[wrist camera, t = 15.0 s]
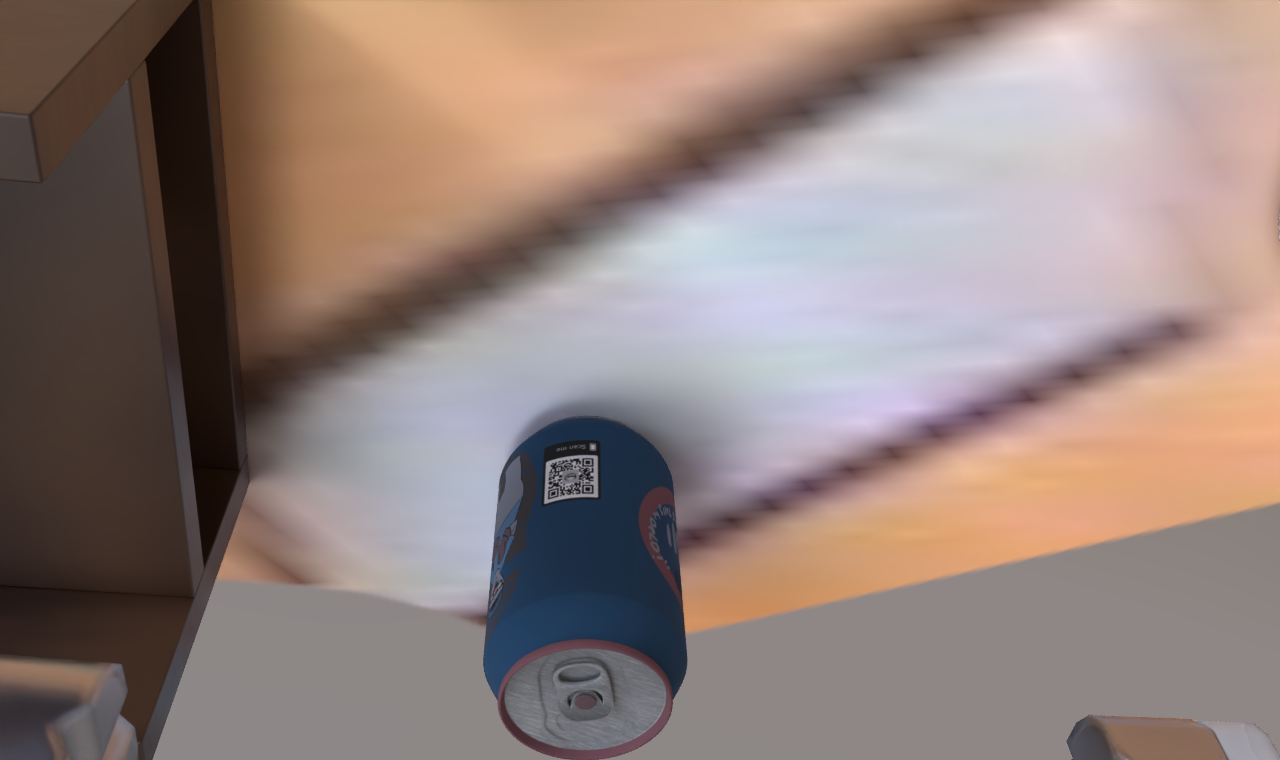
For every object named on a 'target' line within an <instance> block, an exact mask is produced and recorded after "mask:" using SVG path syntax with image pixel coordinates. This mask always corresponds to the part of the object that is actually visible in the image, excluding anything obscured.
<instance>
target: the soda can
mask: <svg viewBox="0 0 1280 760" xmlns="http://www.w3.org/2000/svg"><path fill="white" fill-rule="evenodd" d="M483 666H484V672H485V676H486V679H487V682H488V684H489V686H490V688H491V690H492V692H493V693H494V695H495V697H496V698H497V700H498V709H499V714H500V717H501V719H502V722H503V723H504V725H505V727H506V728H507V729H508V731H509V732H510V733H511V734H512V735H513V736H514V737H515V738H516V739H517V740H519V741H520V742H521V743H523V744H524V745H526V746H528V747H530V748H532V749H534V750H536V751H538V752H541V753H543V754H546V755H550V756H553V757H557V758H563V759H571V760H598V759H605V758H610V757H615V756H619V755H622V754H625V753H628V752H630V751H632V750H635V749H637V748H639V747H641V746H642V745H644V744H646V743H647V742H649V741H650V740H651V739H653V738H654V737H655V736H656V735H657V734H658V733H659V732H660V731H661V730H662V729H663V727H664V726H665V725H666V723H667V721H668V720H669V717H670V715H671V711H672V705H673V699H674V697H675V695H676V693H677V692H678V690H679V688H680V686H681V684H682V682H683V680H684V677H685V674H686V669H687V649H686V637H685V625H684V613H683V600H682V588H681V576H680V564H679V552H678V539H677V527H676V515H675V503H674V491H673V481H672V476H671V473H670V470H669V468H668V465H667V464H666V462H665V460H664V459H663V457H662V455H661V454H660V453H659V452H658V451H657V449H656V448H655V447H654V446H653V445H652V444H651V443H649V442H648V441H647V440H646V439H645V438H643V437H642V436H641V435H639V434H638V433H636V432H635V431H633V430H632V429H630V428H629V427H627V426H625V425H623V424H621V423H619V422H616V421H614V420H610V419H606V418H602V417H594V416H579V417H571V418H566V419H563V420H559V421H556V422H554V423H552V424H550V425H548V426H546V427H544V428H543V429H541V430H539V431H538V432H536V433H535V434H533V435H532V436H531V437H529V438H528V439H527V440H525V441H524V442H523V443H522V444H521V445H520V446H519V447H518V448H517V449H516V450H515V451H514V452H513V453H512V455H511V456H510V458H509V459H508V461H507V462H506V464H505V466H504V468H503V471H502V474H501V477H500V482H499V492H498V503H497V514H496V525H495V536H494V547H493V558H492V569H491V580H490V591H489V602H488V613H487V624H486V636H485V647H484V658H483Z"/></svg>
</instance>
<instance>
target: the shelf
mask: <svg viewBox="0 0 1280 760" xmlns="http://www.w3.org/2000/svg"><path fill="white" fill-rule="evenodd" d="M249 483H250V478H249V465H248V454H247V442H246V429H245V417H244V404H243V392H242V379H241V367H240V354H239V341H238V329H237V316H236V304H235V291H234V279H233V266H232V254H231V241H230V228H229V216H228V203H227V191H226V178H225V166H224V153H223V140H222V128H221V115H220V103H219V90H218V78H217V65H216V52H215V40H214V27H213V15H212V2H211V0H0V654H7V655H20V656H32V657H45V658H57V659H69V660H82V661H94V662H106V663H116V664H122V667H123V672H124V676H125V680H126V684H127V689H128V693H127V696H126V698H125V701H124V704H123V706H122V709H121V711H120V715H121V716H122V717H123V718H124V719H126V720H127V721H128V722H129V723H130V724H132V725H133V726H134V727H135V732H136V738H137V744H138V760H152V759H153V756H154V753H155V751H156V748H157V745H158V742H159V739H160V736H161V733H162V730H163V728H164V725H165V722H166V719H167V716H168V714H169V711H170V708H171V705H172V702H173V699H174V696H175V694H176V691H177V688H178V685H179V682H180V679H181V677H182V674H183V671H184V668H185V665H186V662H187V659H188V656H189V654H190V651H191V648H192V645H193V642H194V639H195V636H196V633H197V631H198V628H199V625H200V623H201V620H202V617H203V614H204V611H205V608H206V605H207V603H208V600H209V597H210V594H211V591H212V588H213V585H214V583H215V580H216V577H217V574H218V571H219V568H220V566H221V563H222V560H223V557H224V554H225V551H226V549H227V546H228V543H229V540H230V537H231V534H232V531H233V529H234V526H235V523H236V520H237V517H238V514H239V512H240V509H241V506H242V503H243V500H244V497H245V494H246V492H247V489H248V486H249Z"/></svg>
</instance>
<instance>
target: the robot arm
mask: <svg viewBox="0 0 1280 760" xmlns="http://www.w3.org/2000/svg"><path fill="white" fill-rule="evenodd" d="M1279 241H1280V212H1279ZM127 693H128V689H127V684H126V680H125V676H124V672H123V667H122V664H116V663H106V662H94V661H82V660H69V659H57V658H45V657H32V656H20V655H7V654H0V760H138V744H137V738H136V732H135V727H134V726H133V725H132V724H130V723H129V722H128V721H127V720H126V719H124V718H123V717H122V716H121V715H120V711H121V709H122V706H123V704H124V701H125V698H126V696H127ZM1067 744H1068V746H1069V749H1070V752H1071V755H1072V757H1073V759H1072V760H1280V755H1279V753H1278V751H1277V749H1276V747H1275V746H1274V744H1273V742H1272V740H1271V739H1270V737H1269V736H1268V735H1267V734H1266V733H1265V732H1264V731H1263V730H1262V729H1261V728H1259V727H1258V726H1257V725H1256V724H1248V723H1231V722H1229V723H1228V722H1213V721H1212V722H1211V721H1193V720H1191V719H1175V718H1151V717H1127V716H1102V715H1088V716H1087V717H1085V718H1083V719H1082V720H1080V721H1078V722H1077V723H1076V725H1075V726H1074V728H1073V730H1072V732H1071V734H1070V736H1069V737H1068V739H1067Z"/></svg>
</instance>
